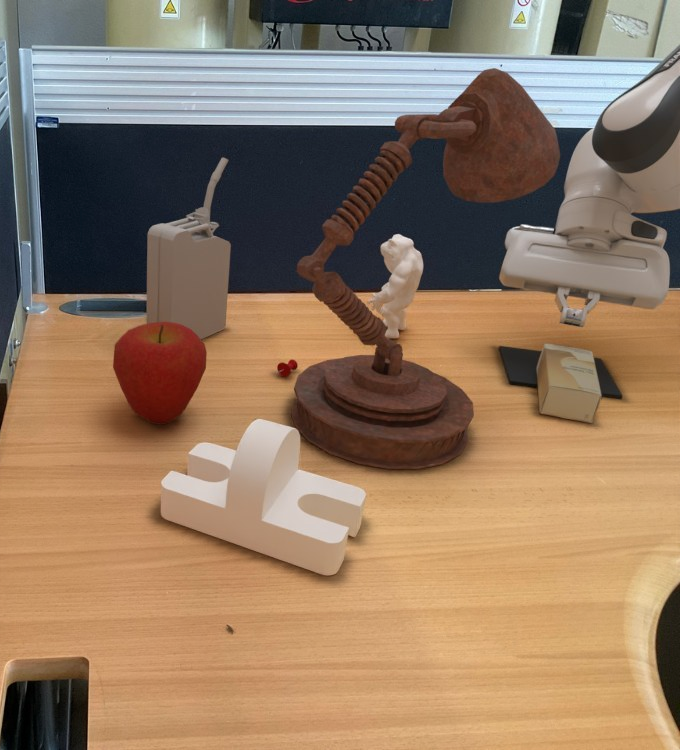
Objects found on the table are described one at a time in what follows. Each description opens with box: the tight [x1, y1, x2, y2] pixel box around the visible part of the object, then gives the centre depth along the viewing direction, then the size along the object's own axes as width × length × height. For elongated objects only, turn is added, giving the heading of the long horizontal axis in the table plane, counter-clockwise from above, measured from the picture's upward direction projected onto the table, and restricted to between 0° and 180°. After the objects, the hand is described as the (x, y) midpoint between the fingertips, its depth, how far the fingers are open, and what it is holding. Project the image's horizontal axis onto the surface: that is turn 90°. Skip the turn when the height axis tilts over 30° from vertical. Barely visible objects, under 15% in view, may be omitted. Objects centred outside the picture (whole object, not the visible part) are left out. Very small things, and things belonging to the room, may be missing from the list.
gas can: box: [145, 157, 232, 340], centre depth 109 cm, size 15×5×25 cm, turn 138°
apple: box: [112, 322, 208, 425], centre depth 89 cm, size 11×11×12 cm
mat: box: [498, 345, 623, 400], centre depth 106 cm, size 14×12×1 cm
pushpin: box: [276, 358, 299, 378], centre depth 102 cm, size 4×2×2 cm, turn 138°
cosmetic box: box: [536, 342, 603, 424], centre depth 98 cm, size 6×4×12 cm
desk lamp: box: [290, 67, 561, 470], centre depth 84 cm, size 21×32×40 cm, turn 119°
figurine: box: [366, 233, 424, 339], centre depth 114 cm, size 11×7×15 cm, turn 150°
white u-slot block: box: [160, 418, 367, 576], centre depth 72 cm, size 10×18×10 cm, turn 62°
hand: (571, 323), depth 100 cm, fingers closed
